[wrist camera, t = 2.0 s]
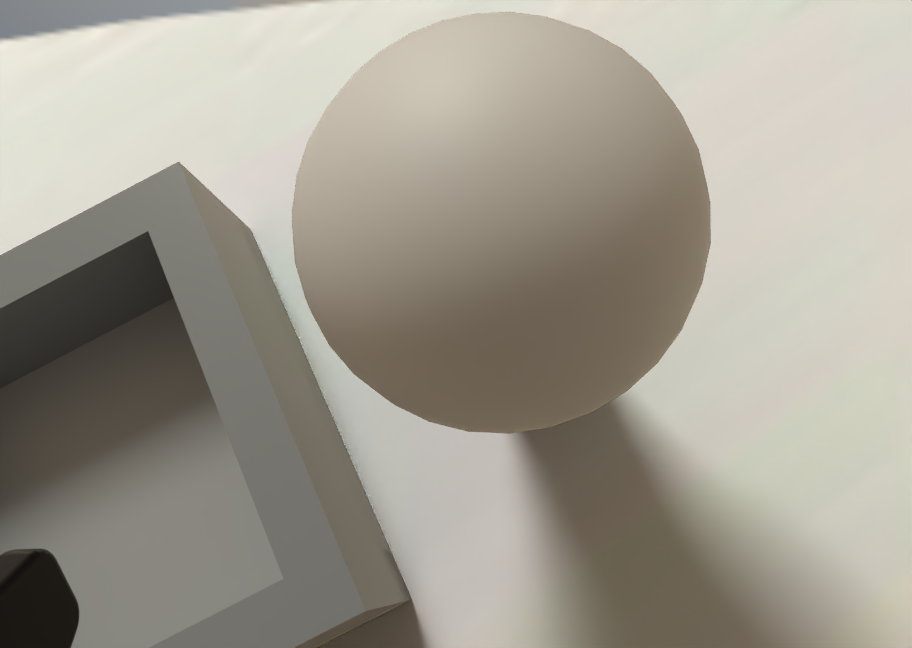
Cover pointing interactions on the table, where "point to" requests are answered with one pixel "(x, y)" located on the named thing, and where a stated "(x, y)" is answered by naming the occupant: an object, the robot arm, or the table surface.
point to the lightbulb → (501, 222)
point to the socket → (177, 435)
